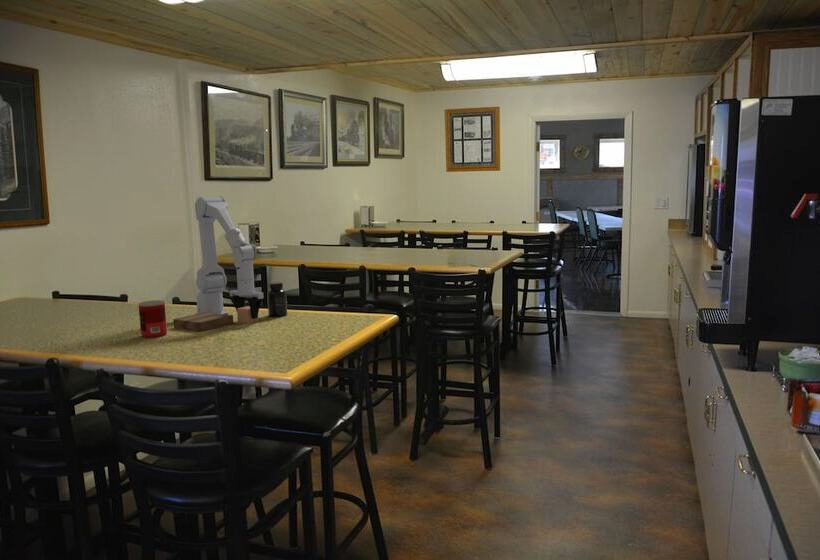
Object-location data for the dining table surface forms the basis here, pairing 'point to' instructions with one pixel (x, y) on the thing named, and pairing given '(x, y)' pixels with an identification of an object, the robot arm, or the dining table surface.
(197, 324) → the walnut base
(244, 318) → the terracotta cube
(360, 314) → the dining table surface
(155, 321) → the canned food
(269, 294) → the supplement bottle
